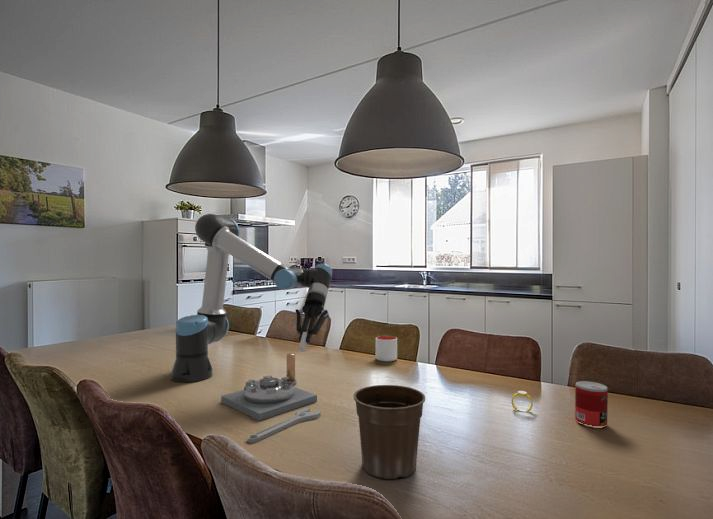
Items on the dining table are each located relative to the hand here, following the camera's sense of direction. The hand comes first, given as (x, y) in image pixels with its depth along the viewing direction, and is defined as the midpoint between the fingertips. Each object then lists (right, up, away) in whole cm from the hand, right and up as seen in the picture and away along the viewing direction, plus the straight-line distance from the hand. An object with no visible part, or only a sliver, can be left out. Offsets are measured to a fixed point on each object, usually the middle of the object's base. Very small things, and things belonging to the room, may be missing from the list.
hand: (301, 349), depth 143 cm
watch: (+70, -15, -17) cm, 74 cm away
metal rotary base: (-9, -13, -10) cm, 19 cm away
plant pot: (+27, -16, -50) cm, 59 cm away
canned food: (+86, -15, -27) cm, 91 cm away
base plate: (-9, -15, -10) cm, 20 cm away
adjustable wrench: (-1, -16, -28) cm, 32 cm away
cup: (+33, -15, +45) cm, 58 cm away
